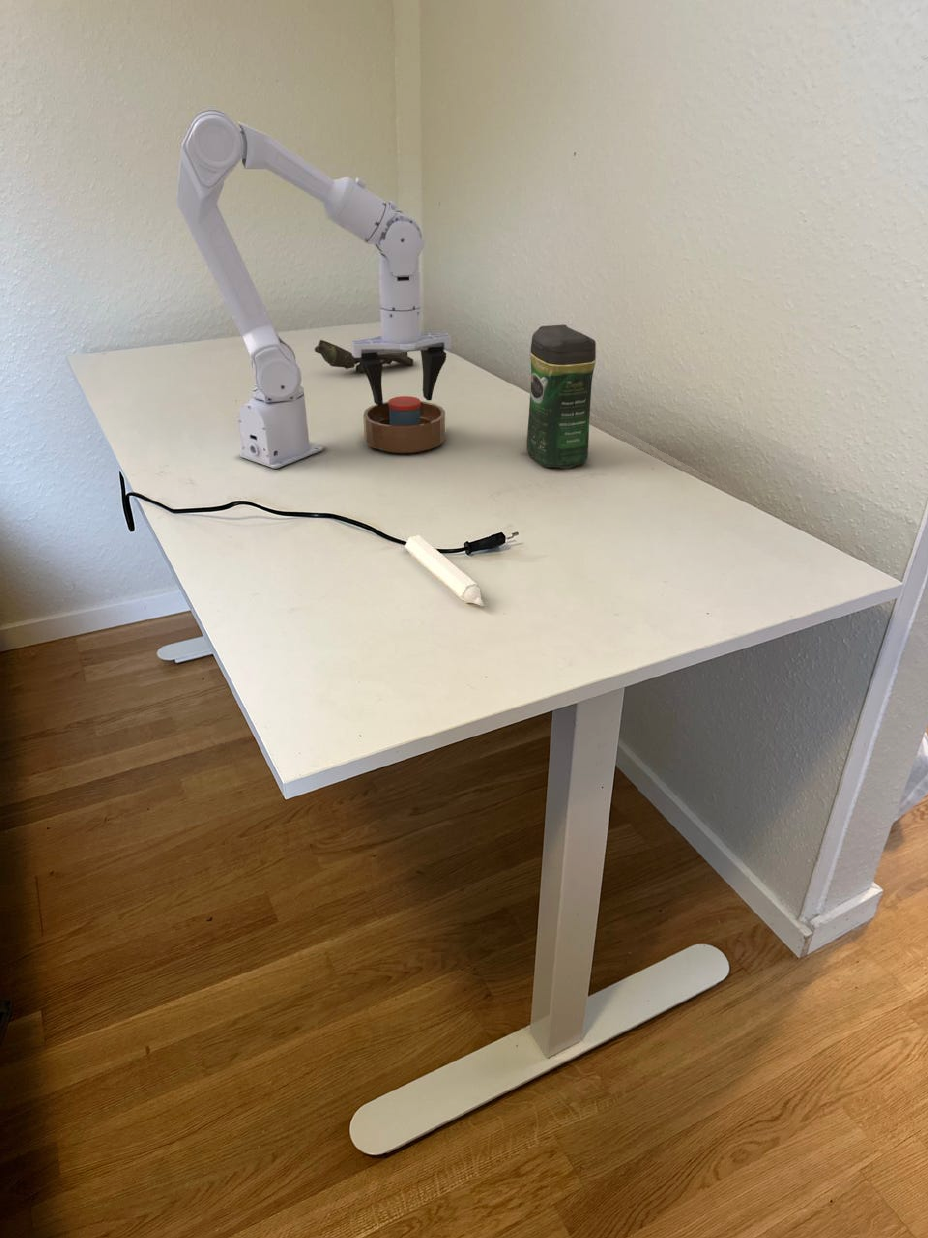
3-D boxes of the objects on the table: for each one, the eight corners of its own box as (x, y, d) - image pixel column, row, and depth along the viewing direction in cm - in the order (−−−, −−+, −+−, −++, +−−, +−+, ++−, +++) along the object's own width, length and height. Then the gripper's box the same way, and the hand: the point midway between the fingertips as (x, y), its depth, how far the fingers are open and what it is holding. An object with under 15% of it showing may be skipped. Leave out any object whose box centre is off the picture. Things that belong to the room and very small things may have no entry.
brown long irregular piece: (401, 373, 170) (308, 369, 159) (403, 344, 168) (308, 338, 157) (418, 376, 165) (322, 371, 154) (419, 346, 163) (323, 340, 152)
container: (407, 445, 128) (405, 408, 125) (383, 438, 130) (381, 402, 127) (428, 436, 131) (427, 400, 128) (404, 429, 134) (402, 393, 131)
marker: (483, 620, 89) (411, 556, 101) (498, 607, 90) (425, 544, 101) (472, 605, 88) (401, 542, 99) (488, 591, 88) (415, 530, 99)
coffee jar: (595, 466, 123) (607, 334, 113) (544, 473, 120) (552, 339, 110) (566, 443, 130) (575, 317, 120) (518, 449, 128) (523, 322, 118)
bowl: (409, 462, 124) (408, 432, 121) (348, 443, 130) (346, 415, 128) (461, 438, 132) (461, 410, 130) (401, 422, 138) (400, 394, 136)
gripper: (357, 316, 115) (362, 414, 122) (458, 308, 119) (457, 404, 127) (344, 305, 121) (351, 399, 128) (441, 298, 125) (442, 390, 132)
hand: (403, 401), depth 128 cm, fingers open, 7 cm apart
